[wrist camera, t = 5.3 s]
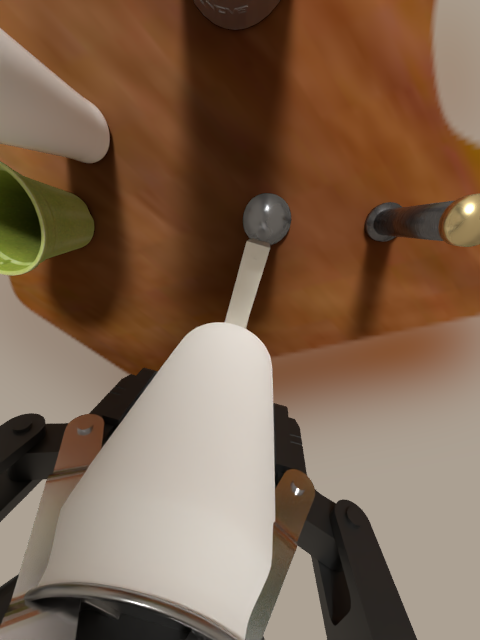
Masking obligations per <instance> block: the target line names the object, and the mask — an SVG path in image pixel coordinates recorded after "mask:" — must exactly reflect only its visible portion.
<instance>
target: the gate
mask: <svg viewBox="0 0 480 640" xmlns="http://www.w3.org/2000/svg"><path fill="white" fill-rule="evenodd" d="M269 251H270V243H267V242H264V241H260V240H257V239H254V238H250V239H249V240H247V241H246V245H245V249H244V253H243V256H242V260H241V264H240V267H239V271H238V275H237V279H236V282H235V286H234V290H233V293H232V297H231V301H230V304H229V308H228V312H227V316H226V319H225V322H224V323H230V324H235V325H238V326H240V327H243V328H245V329H247V324H248V320H249V315H250V312H251V309H252V305H253V302H254V299H255V296H256V292H257V289H258V286H259V283H260V280H261V276H262V273H263V270H264V267H265V263H266V260H267V257H268V254H269Z"/></svg>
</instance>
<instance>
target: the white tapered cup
mask: <svg viewBox="0 0 480 640" xmlns="http://www.w3.org/2000/svg"><path fill="white" fill-rule="evenodd" d="M0 144H4V145H9V146H14V147H19V148H23V149H28V150H33V151H38V152H43V153H48V154H52V155H57V156H62V157H66V158H70V159H74V160H77V161H80V162H83V163H95V162H98V161H99V160H101V159H102V158H103V157H104V156H105V155H106V153H107V151H108V148H109V144H110V133H109V128H108V125H107V122H106V120H105V118H104V116H103V115H102V113H101V112H100V111H99V109H98V108H97V107H96V106H95V105H94V104H92V103H91V102H90V101H88V100H87V99H86V98H84V97H83V96H81V95H80V94H79V93H77V92H76V91H75V90H74V89H72V88H71V87H70V86H69V85H68V84H66V83H65V82H64V81H63V80H62V79H60V78H59V77H58V76H57V75H56V74H54V73H53V72H52V71H51V70H50V69H49V68H47V67H46V66H45V65H44V64H43V63H41V62H40V61H39V60H38V59H37V58H35V57H34V56H33V55H32V54H31V53H30V52H28V51H27V50H26V49H25V48H24V47H22V46H21V45H20V44H19V43H18V42H17V41H15V40H14V39H13V38H12V37H11V36H9V35H8V34H7V33H6V32H5V31H4V30H2V29H1V28H0Z"/></svg>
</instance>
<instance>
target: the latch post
mask: <svg viewBox="0 0 480 640" xmlns="http://www.w3.org/2000/svg"><path fill="white" fill-rule="evenodd" d="M365 230H366V233H367V235H368V236H369V237H370V238H371V239H373V240H376V241H389V240H391V239H393V238H395V237H407V238H418V239H428V240H439V241H445V242H446V243H448V244H450V245H455V246H464V247H470V246H475V245H478V244H480V194H474V195H468V196H464V197H461V198H459V199H457V200H455V201H449V202H441V203H433V204H426V205H418V206H410V207H401V206H400V205H399V204H396V203H391V202H390V203H383V204H380V205H378V206H376V207H375V208H374V209H372V210H371V212H370V213H369V214H368V216H367V218H366V221H365Z"/></svg>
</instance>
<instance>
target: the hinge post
mask: <svg viewBox="0 0 480 640" xmlns="http://www.w3.org/2000/svg"><path fill="white" fill-rule="evenodd" d="M290 224H291V213H290V209H289V207H288V205H287V203H286V202H285V201H284V200H283V199H282V198H281V197H279V196H278V195H275V194H270V193H264V194H260V195H257V196H256V197H254V198H253V199H252V200H251V201H250V202H249V203H248V205H247V206H246V208H245V211H244V215H243V226H244V230H245V232H246V234H247V236H248V237H249V238H254V239H257V240H260V241H264V242H267V243H270V245H272V244H275V243H277V242H279V241H280V240H281V239H282V238H283V237H284V236H285V235H286V234H287V232H288V230H289V228H290Z"/></svg>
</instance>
